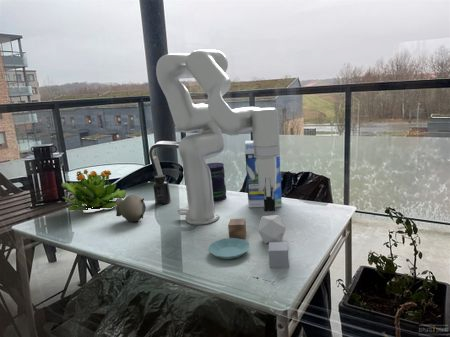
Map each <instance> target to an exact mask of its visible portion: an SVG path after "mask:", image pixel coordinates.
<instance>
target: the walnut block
mask: <svg viewBox="0 0 450 337" xmlns="http://www.w3.org/2000/svg"><path fill="white" fill-rule="evenodd" d="M227 225H228V238H238V239H242V240H245V239H246V236H247V226H246V218H230V219H229V222H228V224H227Z"/></svg>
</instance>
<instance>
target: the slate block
mask: <svg viewBox="0 0 450 337" xmlns="http://www.w3.org/2000/svg"><path fill="white" fill-rule="evenodd" d="M288 244H289V243H288V241H281V242H269V243H268V263H269V269H277V268H278V269H281V268H282V269H286V268H287V269H288V268H289V269H290V263H289V260H290V259H289V245H288Z"/></svg>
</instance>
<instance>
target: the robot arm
mask: <svg viewBox="0 0 450 337" xmlns="http://www.w3.org/2000/svg"><path fill="white" fill-rule="evenodd" d="M228 66H229V62H228V58H227V57H226V55H225V54H224V53H223V52H222V51H220V50H218V49H217V50H216V49H198V50H197V49H196V50H193V51H191V52H190V53H187V52H186V53H184V52H183V53H181V52H178V53H177V52H175V53H167V54H164V55H162V56H161V57H160V58H159V59H158V60H157V62H156V68H155V71H156V73H155V74H156V78H157V82H158V85H159V87H160V88H161V89H160V90H162V92H163V95H164V96H165V98H166V101H167V105H168V108H169V111H170V115H171V116H172V117H171V118H172V119H173V120H172V121H173V123H174V125H175V127H176V129H177V131H178V132H181V133H190V132H195V131H200V133H198V132H197V133H195V134H189V135H187V136H184V137H183V138H182V139H181V140H180V141H179V144H178V152H179V155H180V159H181V163H182V166H183V173H184V181H185V189H186V191H185V192H186V198H187V206H186V207H185V208H183V207H182V208H178V209H177V213H178V214H179V216H185V222H186V223H187V224H190V225H196V226H197V225H200V226H201V225H207V224H211V223H214V222H216V221H217V220H219V218H220V213H219V212H218V211H216V210H215V202H214V200H213V190H212V179H211V172H210V169H209V167H208V165H207V164H208V163H207V162H206V161H205V160H207V159H210V158H215V157H217V156H220V155H221V154H222V153H223V152H224V150H225V141H224V136H223V133H224V134H226V135H228V136H233V137H234V136H239V135H242V134H247V133H252V141H253V145H254V157H255V158H258V182H259V191H260V192H261V191H263V189H264V207H263V209H264V213H265V212H267V213H268V212H272V213H274V212H276V207H275V197H274V191H275V189H276V157H279V156H281V145H280V143H281V141H280V124H279V123H280V122H279V118H280V117H279V111H278V109H277V108H276V107H256V106H246V107H237V108H233V109H232V108H231V107H230V106H229V105H228V103H227V102H226V101H225V100H224V98H223V96H224V95H225V94H227V92H228V91H229V89H230V87H231V79H230V78H229V76H228V75H227V74H226V72H227V70H228ZM181 79H194V80H195V81H196V82H197V84H198V85H199V86H200V87H201V89H202V90H203V91H204V92H205V93H206V95H207V102H206V103H194V102H193V99H192V97H191V94H190V91H189V90H188V88H187V86H185V85H184V83H182V82H181V81H180V80H181Z"/></svg>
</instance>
